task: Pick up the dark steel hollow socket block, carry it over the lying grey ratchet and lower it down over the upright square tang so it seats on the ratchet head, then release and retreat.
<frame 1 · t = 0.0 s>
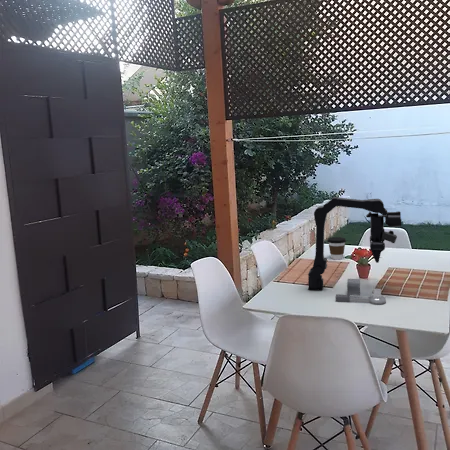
hand: (377, 260, 215), 15 cm above the table, tool pointing down, fingers open, 9 cm apart
ratchet: (377, 302, 203), on the table
coffee cup: (337, 258, 279), on the table
socket: (353, 293, 216), on the table
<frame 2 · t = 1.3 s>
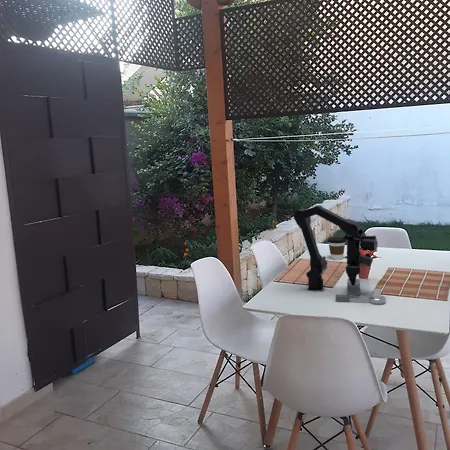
hand: (353, 282, 215), 5 cm above the table, tool pointing down, fingers open, 9 cm apart
nothing on the table moved.
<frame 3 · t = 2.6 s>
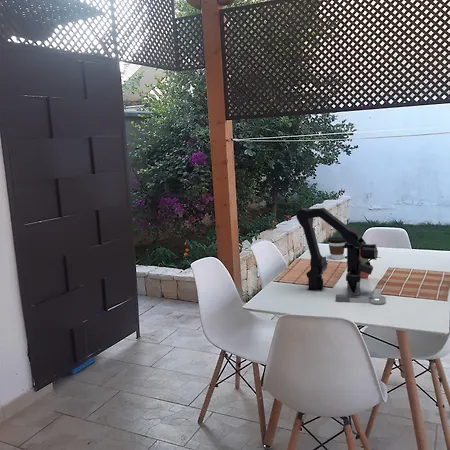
hand: (353, 290, 216), 1 cm above the table, tool pointing down, fingers closed on socket, 6 cm apart
socket: (353, 293, 216), on the table, touching gripper
everything else where it was.
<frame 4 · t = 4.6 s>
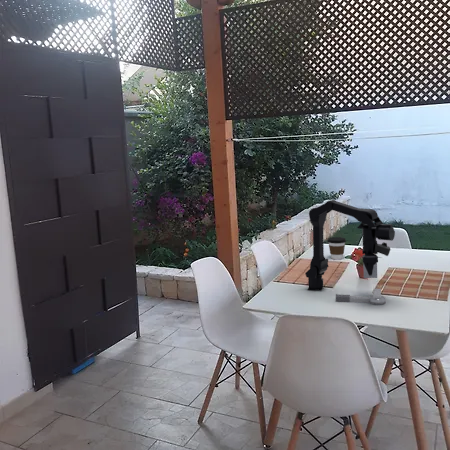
hand: (370, 273, 205), 12 cm above the table, tool pointing down, fingers closed on socket, 6 cm apart
socket: (370, 276, 205), point 10 cm above the table, touching gripper
everything else where it was.
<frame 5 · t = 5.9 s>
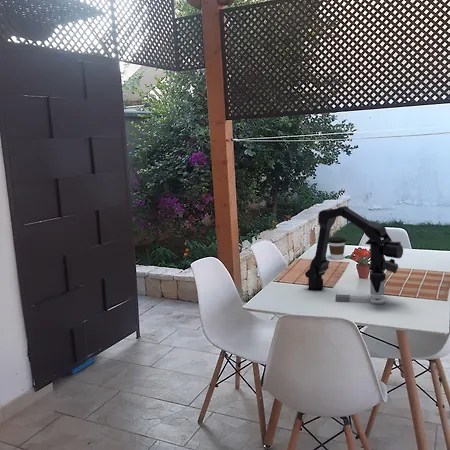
hand: (377, 290, 202), 5 cm above the table, tool pointing down, fingers closed on socket, 6 cm apart
socket: (377, 292, 202), point 4 cm above the table, touching gripper
everything else where it was.
when the fingers open (4 cm above the table, at t = 6.9 s): socket drops 1 cm, resting on ratchet.
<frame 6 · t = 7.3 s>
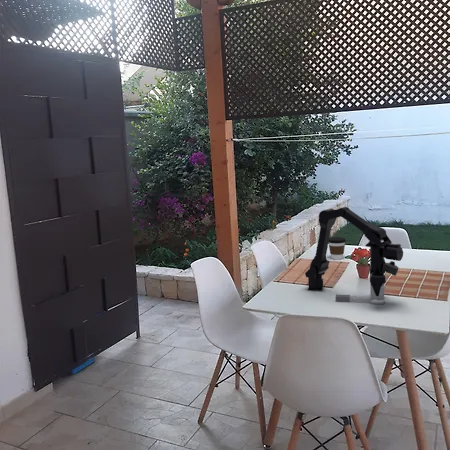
hand: (377, 292, 202), 4 cm above the table, tool pointing down, fingers open, 9 cm apart
socket: (377, 297, 202), point 2 cm above the table, touching ratchet
everything else where it was.
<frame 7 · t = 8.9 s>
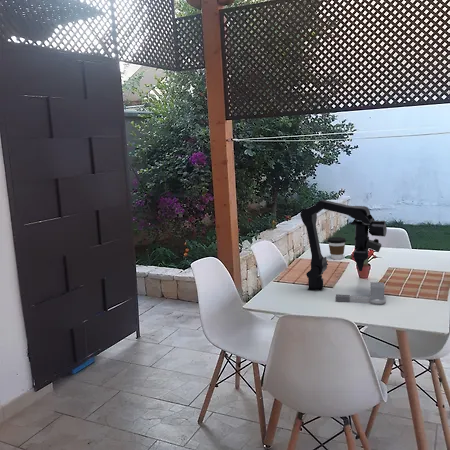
hand: (360, 268, 212), 12 cm above the table, tool pointing down, fingers open, 9 cm apart
nothing on the table moved.
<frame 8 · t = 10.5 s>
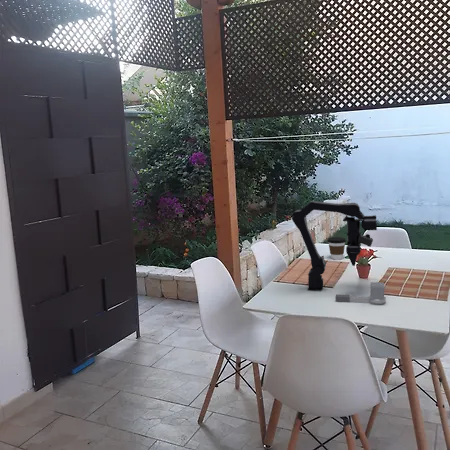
hand: (353, 263, 218), 13 cm above the table, tool pointing down, fingers open, 9 cm apart
nothing on the table moved.
at the end: socket 0.0 cm from the ratchet (horizontally); socket point 2.0 cm above the table; the gripper is holding nothing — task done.
